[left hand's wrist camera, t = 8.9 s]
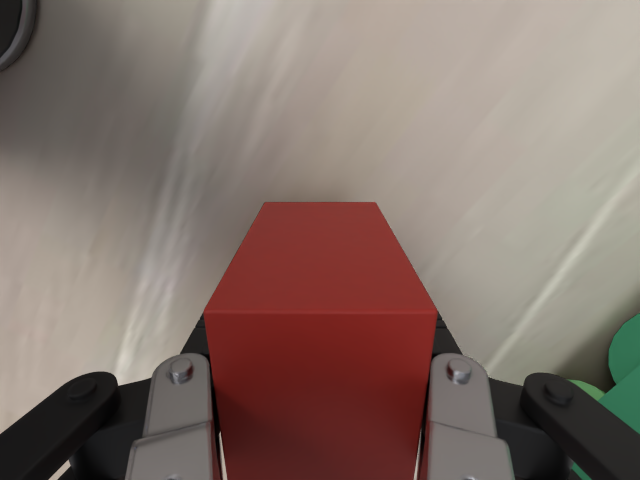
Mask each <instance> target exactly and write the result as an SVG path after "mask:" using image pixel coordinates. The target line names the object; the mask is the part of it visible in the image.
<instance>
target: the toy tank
mask: <svg viewBox="0 0 640 480" xmlns="http://www.w3.org/2000/svg"><path fill="white" fill-rule="evenodd" d="M609 368H610V371H611V374H612V377H613V380H614V381H615V383H616V384H617V385H615V386H614V387H613V388H612V389H611V390H610V391H608V392H607V393H605V392H603V391H602V390H600V389H598V388H596V387H594V386H592V385H589V384H587V383H585V382H582V381H579V380H569V381H571V382H573V383H574V384H576V385H577V386H579V387H580V388H581V389H583V390H584V391H585V392H586V393H588V394H589V395H590V396H592V397H593V398H594V399H595V400H597V401H598V402H599V403H601V404H602V405H603V406H604V407H606V408H607V409H608V410H609V411H611V412H612V413H613V414H615V415H616V416H617V417H618V418H620V419H621V420H622V421H623V422H625V423H626V424H627V425H629V426H630V427H631V428H632V429H634V430H635V431H636V432H638V433H639V434H640V313H639V314H637V315H636V316H634V317H633V318H631V319H630V320H629V321H627V322H626V323H624V324H623V326H622V327H621V328H620V329H619V331H618V332H617V333H616V334H615V335H614V337H613V340H612V343H611V345H610V348H609ZM567 380H568V379H567ZM572 469H573V470H574V471H575V472H576V473H577V474H578V476H579V477H580V478H581V479H582V480H592V479H591V478H590V477H589V476H588V475H587V474H586V473H585V472H584V471H583V470H582V469H581V468H580V467H579V466H578V465H577V464H576V463H575V462H574V464H573V466H572Z"/></svg>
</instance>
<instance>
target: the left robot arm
mask: <svg viewBox="0 0 640 480" xmlns="http://www.w3.org/2000/svg"><path fill="white" fill-rule="evenodd" d="M35 16H36V0H0V71H2V70H3V69H5V68H7V67H8V66H9V65H10V64H12V63H13V62H14V61H15V60H16V59H17V58H18V57H19V56H20V54H21V53H22V52H23V50H24V49H25V47H26V45H27V43H28V41H29V39H30V36H31V34H32V30H33V26H34V22H35ZM437 311H438V310H437ZM219 433H220V424H219V417H218V410H217V403H216V397H215V390H214V383H213V376H212V369H211V362H210V355H209V348H208V341H207V334H206V327H205V320H204V313H203V314H202V315H201V317H200V320H199V321H198V323H197V324H196V326H195V328H194V330H193V331H192V333H191V335H190V337H189V339H188V340H187V342H186V344H185V346H184V347H183V349H182V351H181V353H180V354H179V355H176V356H173V357H171V358H169V359H167V360H165V361H164V362H162V363H161V364H160V365H159V366H158V367H157V368H156V369H155V371H154V372H153V375H152V378H149V379H146V380H142V381H138V382H133V383H129V384H125V385H120V386H118V383H117V379H116V377H115V376H114V375H113V374H111V373H108V372H92V373H88V374H84V375H81V376H79V377H76V378H74V379H72V380H70V381H69V382H67V383H65V384H64V385H63V386H61V387H60V388H59V389H57V390H56V391H55V392H54V393H52V394H51V395H50V396H48V397H47V398H46V399H45V400H43V401H42V402H41V403H39V404H38V405H37V406H36V407H34V408H33V409H32V410H31V411H29V412H28V413H27V414H25V415H24V416H23V417H22V418H20V419H19V420H18V421H17V422H15V423H14V424H13V425H11V426H10V427H9V428H8V429H6V430H5V431H4V432H2V433H1V434H0V480H48V479H49V478H50V477H51V476H52V475H53V474H54V473H55V472H56V471H57V470H58V469H59V468H60V467H61V466H62V465H63V464H64V463H65V462H66V461H67V460H68V459H69V462H70V465H71V466H70V467H69V468H68V469H67V470H66V471H65V472H64V473H63V474H62V476H61V477H60V478H59V479H58V480H223V470H222V456H221V443H220V435H219ZM574 462H575V463H576V464H577V465H578V466H579V467H580V468H581V469H582V470H583V471H584V472H585V473H586V474H587V475H588V476H589V477H590V478H591V479H592V480H640V434H639V433H638V432H636V431H635V430H634V429H632V428H631V427H630V426H629V425H627V424H626V423H625V422H623V421H622V420H621V419H620V418H618V417H617V416H616V415H615V414H613V413H612V412H611V411H609V410H608V409H607V408H606V407H604V406H603V405H602V404H601V403H599V402H598V401H597V400H595V399H594V398H593V397H592V396H590V395H589V394H588V393H586V392H585V391H584V390H583V389H581V388H580V387H579V386H577V385H576V384H574V383H573V382H571V381H569V380H567V379H565V378H562V377H560V376H557V375H554V374H549V373H533V374H530V375H529V376H527V377H526V379H525V381H524V385H523V386H520V385H516V384H511V383H507V382H503V381H499V380H495V379H492V378H489V377H488V375H487V372H486V371H485V369H484V368H483V367H482V366H481V365H480V364H479V363H478V362H476V361H475V360H473V359H471V358H469V357H467V356H464V355H463V354H462V353H461V351H460V349H459V347H458V345H457V344H456V342H455V340H454V338H453V337H452V335H451V333H450V331H449V330H448V329H447V326H446V324H445V323H444V321H443V320H442V317H441V316H440V314H439V312H438V315H437V322H436V329H435V336H434V342H433V349H432V356H431V363H430V370H429V377H428V384H427V391H426V397H425V404H424V411H423V418H422V425H421V435H420V443H419V456H418V470H417V480H582V479H581V478H580V477H579V476H578V474H577V473H576V472H575V471H574V470H573V469H572V466H573V464H574Z"/></svg>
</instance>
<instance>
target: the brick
mask: <svg viewBox="0 0 640 480" xmlns="http://www.w3.org/2000/svg"><path fill="white" fill-rule="evenodd" d="M203 313H204V320H205V327H206V334H207V341H208V348H209V355H210V362H211V369H212V376H213V383H214V390H215V397H216V403H217V410H218V417H219V424H220V431H221V438H222V445H223V452H224V459H225V466H226V473H227V480H414V473H415V466H416V459H417V452H418V446H419V439H420V432H421V425H422V418H423V411H424V404H425V397H426V391H427V384H428V377H429V370H430V363H431V356H432V349H433V342H434V336H435V329H436V322H437V315H438V311H437V309H436V307H435V305H434V303H433V302H432V300H431V298H430V296H429V295H428V293H427V291H426V289H425V288H424V286H423V284H422V282H421V281H420V279H419V277H418V275H417V274H416V272H415V270H414V268H413V267H412V265H411V263H410V261H409V260H408V258H407V256H406V254H405V253H404V251H403V249H402V247H401V246H400V244H399V242H398V240H397V239H396V237H395V235H394V233H393V232H392V230H391V228H390V226H389V225H388V223H387V221H386V219H385V218H384V216H383V214H382V212H381V211H380V209H379V207H378V205H377V204H376V203H375V202H265V203H264V204H263V206H262V208H261V210H260V212H259V213H258V215H257V217H256V219H255V220H254V222H253V224H252V226H251V228H250V229H249V231H248V233H247V235H246V236H245V238H244V240H243V242H242V243H241V245H240V247H239V249H238V251H237V252H236V254H235V256H234V258H233V259H232V261H231V263H230V265H229V267H228V268H227V270H226V272H225V274H224V275H223V277H222V279H221V281H220V282H219V284H218V286H217V288H216V290H215V291H214V293H213V295H212V297H211V298H210V300H209V302H208V304H207V305H206V307H205V309H204V312H203Z"/></svg>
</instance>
